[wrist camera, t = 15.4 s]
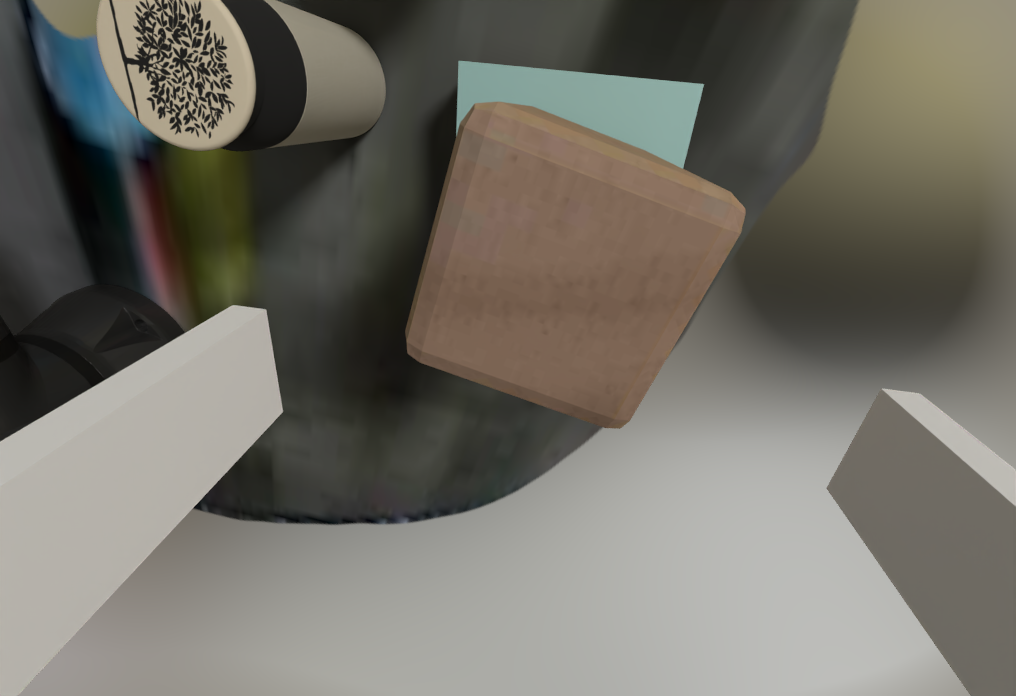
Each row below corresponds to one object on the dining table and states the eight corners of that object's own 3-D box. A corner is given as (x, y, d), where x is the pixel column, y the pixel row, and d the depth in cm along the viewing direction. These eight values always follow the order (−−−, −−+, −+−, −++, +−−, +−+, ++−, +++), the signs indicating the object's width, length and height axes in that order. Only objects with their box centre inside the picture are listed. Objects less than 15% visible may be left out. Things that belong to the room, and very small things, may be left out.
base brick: (464, 266, 43) (450, 288, 38) (474, 68, 36) (458, 60, 31) (636, 287, 43) (647, 312, 37) (682, 88, 35) (703, 84, 30)
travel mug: (393, 41, 36) (256, -16, 20) (380, 149, 39) (256, 175, 24) (292, 11, 36) (73, -69, 20) (289, 122, 39) (102, 131, 23)
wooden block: (596, 283, 37) (626, 445, 19) (476, 239, 36) (391, 363, 18) (656, 154, 32) (770, 208, 14) (519, 101, 31) (462, 88, 14)
